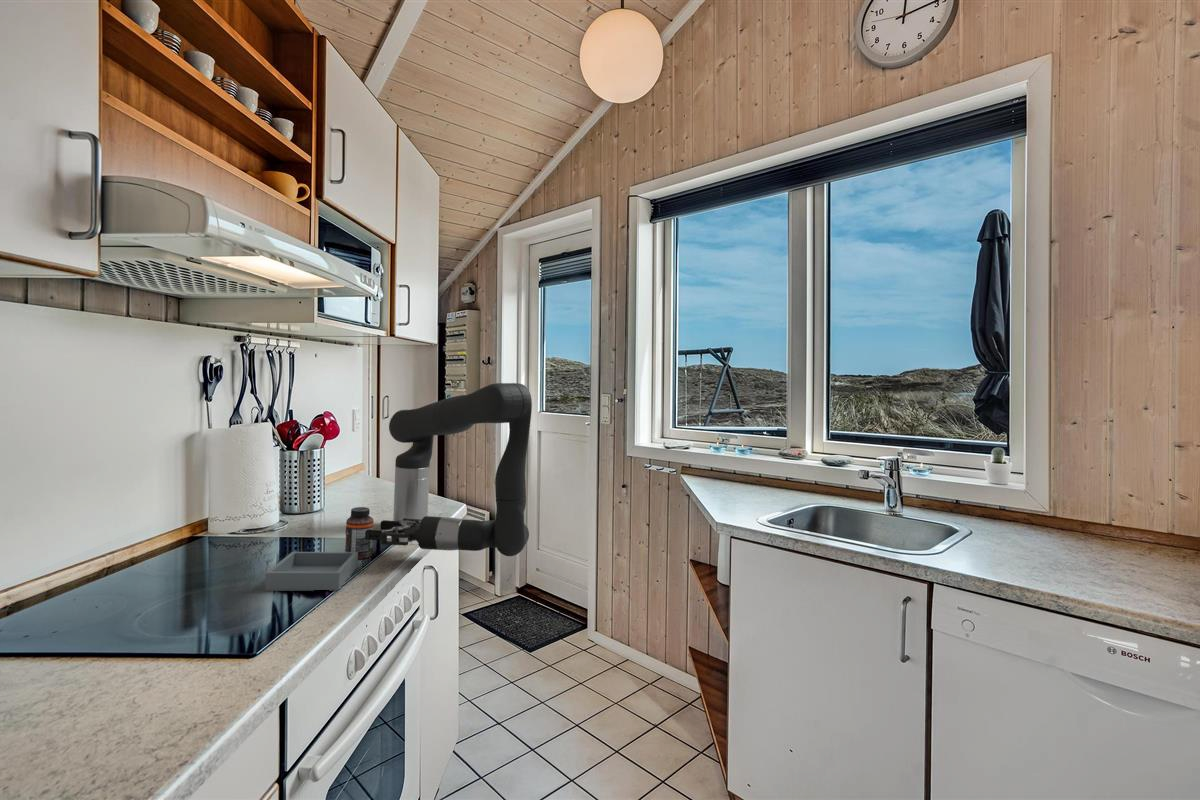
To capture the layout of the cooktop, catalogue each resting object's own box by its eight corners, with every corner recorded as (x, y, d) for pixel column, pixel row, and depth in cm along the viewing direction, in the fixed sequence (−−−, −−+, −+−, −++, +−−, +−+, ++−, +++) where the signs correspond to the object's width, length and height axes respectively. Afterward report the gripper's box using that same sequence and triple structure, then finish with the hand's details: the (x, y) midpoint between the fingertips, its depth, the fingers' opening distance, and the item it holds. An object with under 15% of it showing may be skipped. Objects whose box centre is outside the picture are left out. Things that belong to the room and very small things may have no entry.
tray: (291, 567, 125) (292, 551, 124) (357, 567, 127) (357, 552, 127) (264, 590, 111) (265, 573, 111) (338, 590, 113) (339, 572, 113)
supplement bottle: (344, 553, 136) (346, 506, 136) (371, 551, 138) (373, 505, 138) (345, 561, 130) (346, 512, 130) (373, 559, 133) (374, 510, 133)
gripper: (451, 510, 141) (386, 507, 141) (433, 525, 127) (360, 521, 127) (450, 540, 141) (385, 537, 141) (432, 558, 127) (359, 554, 127)
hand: (373, 529), depth 134 cm, fingers open, 8 cm apart
